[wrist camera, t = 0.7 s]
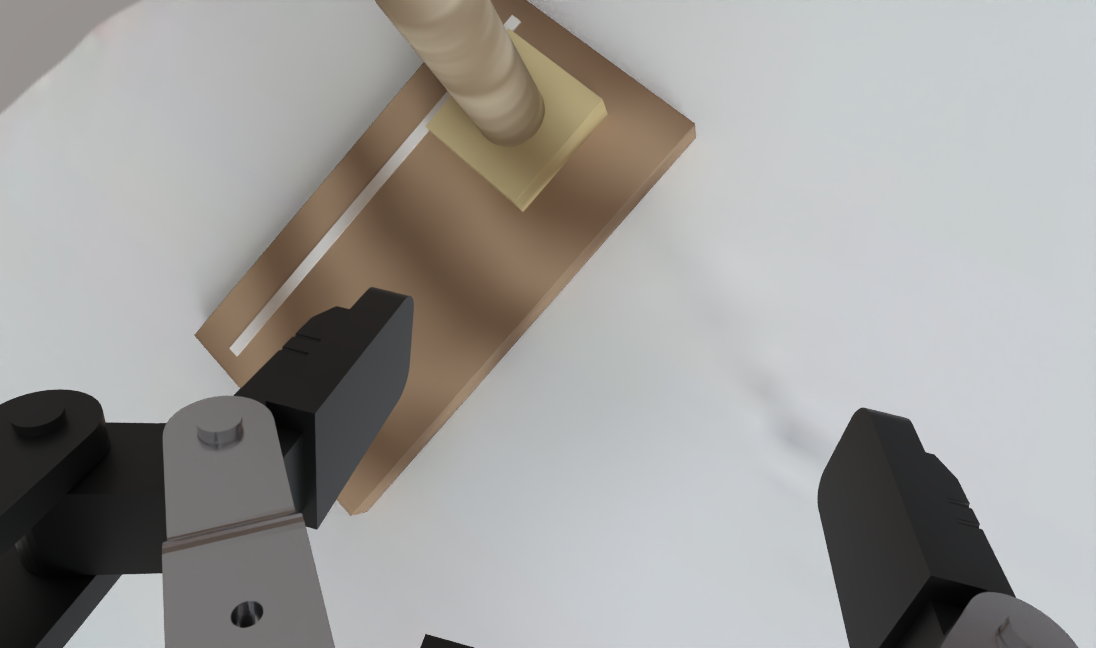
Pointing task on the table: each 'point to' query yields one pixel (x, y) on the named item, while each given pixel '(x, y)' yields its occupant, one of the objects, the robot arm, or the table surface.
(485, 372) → the walnut board
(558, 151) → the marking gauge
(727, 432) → the table surface
